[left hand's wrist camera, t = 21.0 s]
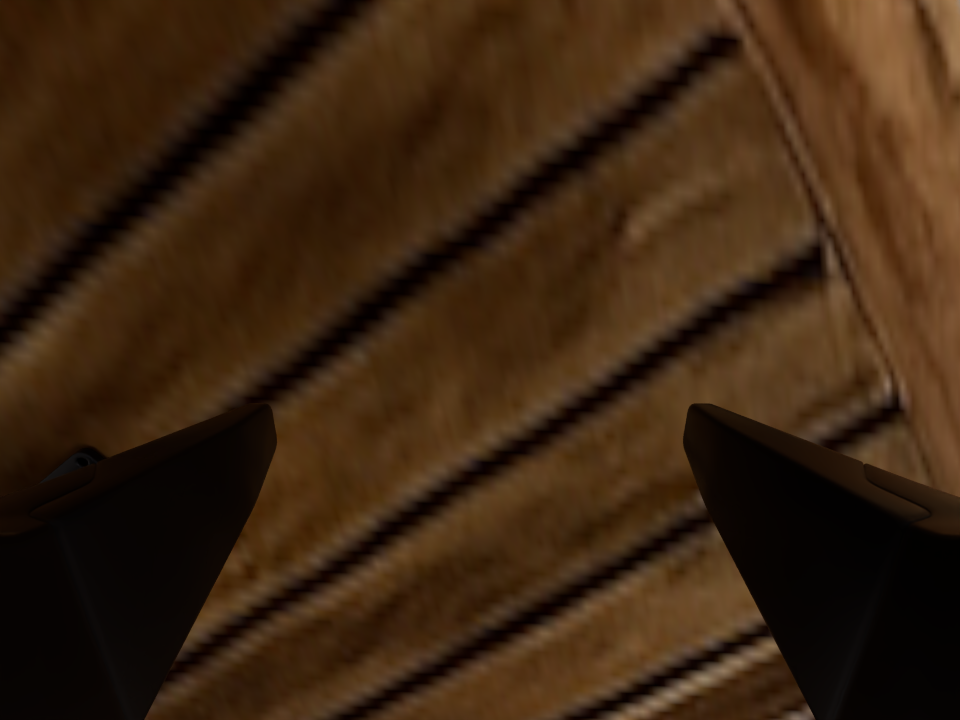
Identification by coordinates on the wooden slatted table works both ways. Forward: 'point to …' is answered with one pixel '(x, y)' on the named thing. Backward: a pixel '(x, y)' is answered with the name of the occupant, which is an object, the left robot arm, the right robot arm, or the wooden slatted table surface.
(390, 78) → the wooden slatted table surface
